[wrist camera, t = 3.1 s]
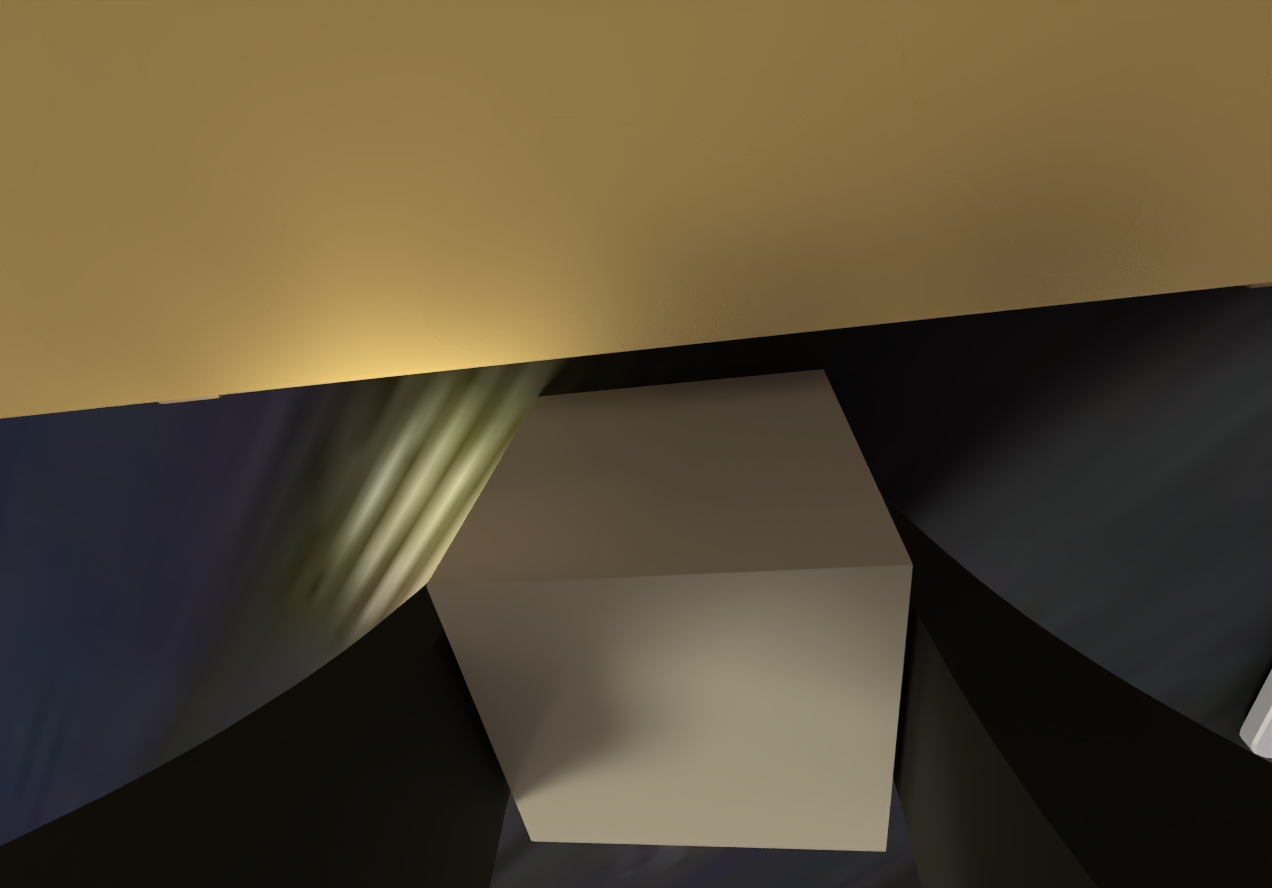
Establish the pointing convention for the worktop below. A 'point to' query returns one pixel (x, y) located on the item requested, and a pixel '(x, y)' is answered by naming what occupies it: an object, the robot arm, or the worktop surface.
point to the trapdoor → (594, 177)
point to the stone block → (686, 618)
